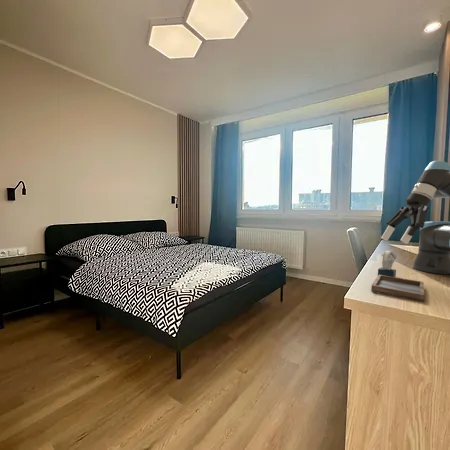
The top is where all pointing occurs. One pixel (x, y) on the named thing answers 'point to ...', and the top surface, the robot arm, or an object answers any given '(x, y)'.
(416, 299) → the valet tray
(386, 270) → the rubber stamp
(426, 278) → the top surface
